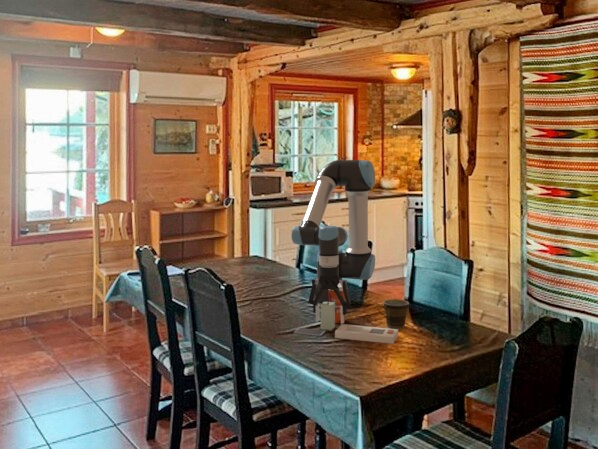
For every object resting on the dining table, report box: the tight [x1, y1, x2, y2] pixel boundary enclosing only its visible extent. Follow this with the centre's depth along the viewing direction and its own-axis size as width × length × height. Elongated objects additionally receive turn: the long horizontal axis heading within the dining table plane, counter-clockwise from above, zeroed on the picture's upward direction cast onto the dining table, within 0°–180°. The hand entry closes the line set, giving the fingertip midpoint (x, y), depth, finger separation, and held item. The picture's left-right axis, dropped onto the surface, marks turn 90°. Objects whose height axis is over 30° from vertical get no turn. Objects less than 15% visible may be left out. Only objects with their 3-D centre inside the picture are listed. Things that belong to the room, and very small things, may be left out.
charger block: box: [320, 302, 336, 331], centre depth 248 cm, size 4×4×10 cm
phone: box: [293, 327, 327, 337], centre depth 243 cm, size 6×11×1 cm, turn 69°
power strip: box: [334, 323, 399, 345], centre depth 237 cm, size 10×22×3 cm, turn 71°
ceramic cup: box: [377, 298, 410, 330], centre depth 248 cm, size 13×10×10 cm
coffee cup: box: [328, 283, 346, 324], centre depth 257 cm, size 8×8×15 cm
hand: (330, 321), depth 248 cm, fingers open, 9 cm apart
